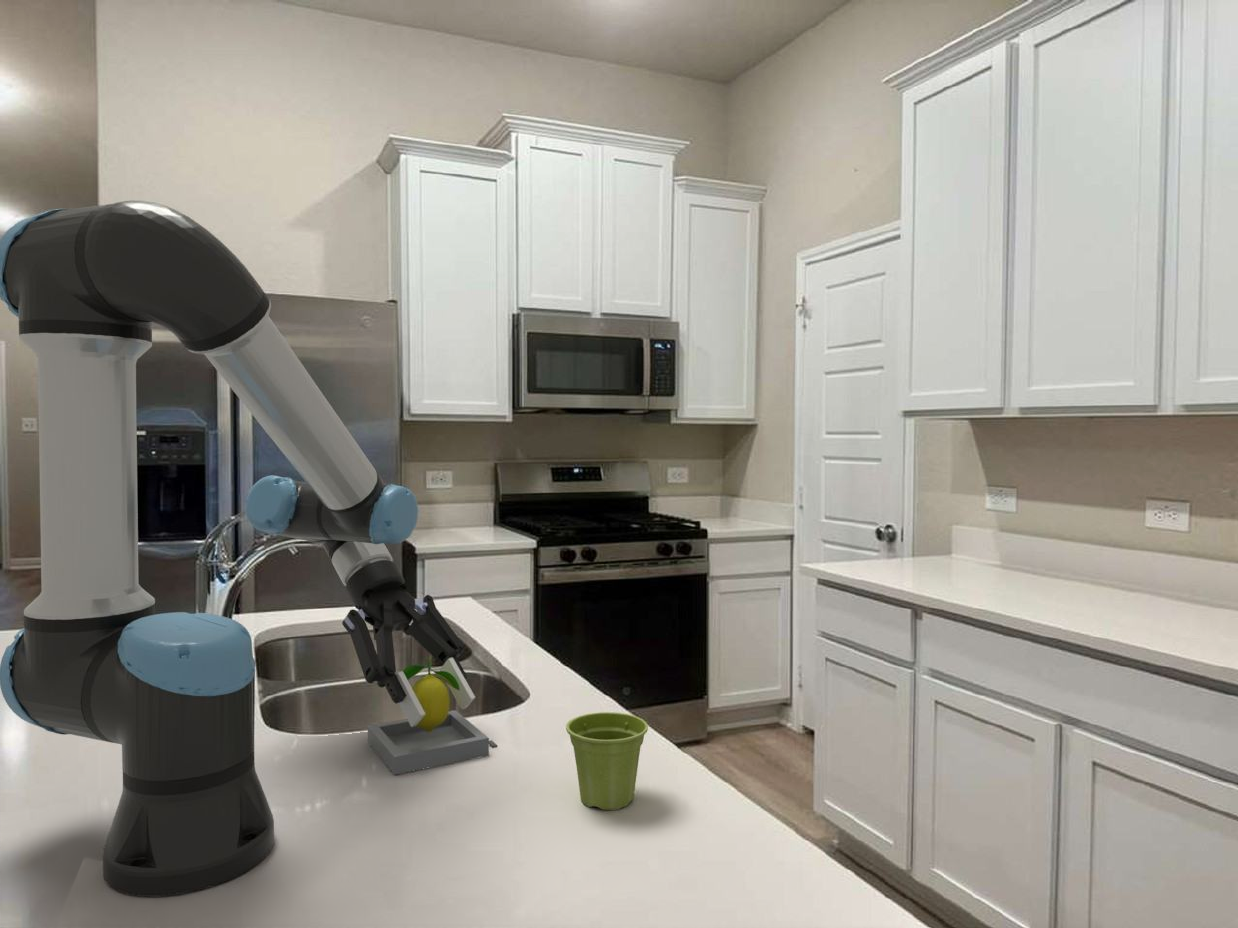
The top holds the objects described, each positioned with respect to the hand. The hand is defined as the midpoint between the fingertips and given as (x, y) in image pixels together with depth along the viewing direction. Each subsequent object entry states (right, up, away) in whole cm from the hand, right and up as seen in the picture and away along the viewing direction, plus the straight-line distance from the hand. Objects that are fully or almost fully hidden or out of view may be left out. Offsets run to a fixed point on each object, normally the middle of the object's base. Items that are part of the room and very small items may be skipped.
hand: (444, 711), depth 109 cm
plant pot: (+21, -7, -12) cm, 26 cm away
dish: (-3, -6, +2) cm, 7 cm away
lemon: (-3, -4, +2) cm, 5 cm away
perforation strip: (+4, -5, +7) cm, 9 cm away
